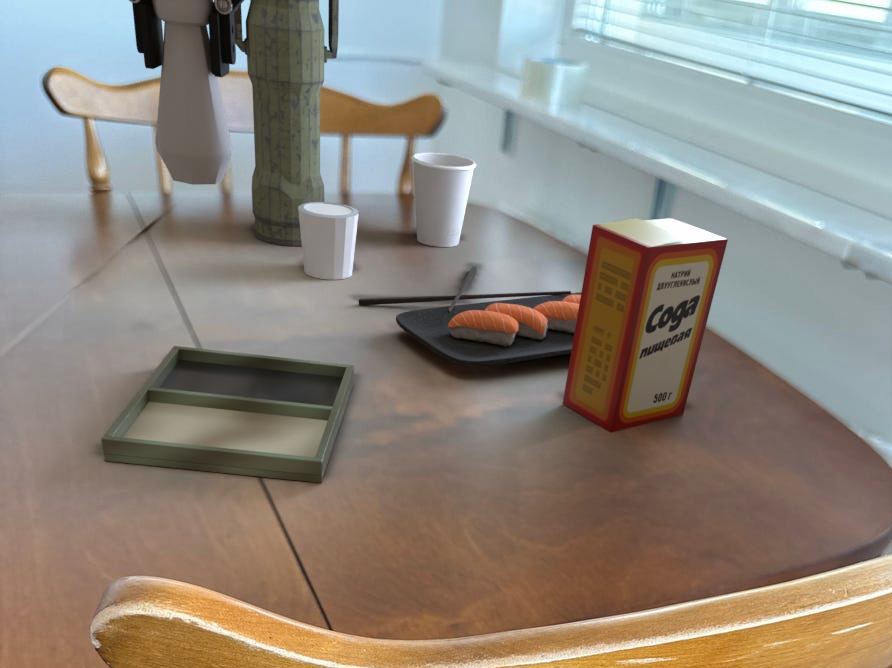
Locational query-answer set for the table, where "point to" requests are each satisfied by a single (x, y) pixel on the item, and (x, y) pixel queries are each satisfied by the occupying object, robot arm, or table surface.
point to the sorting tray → (234, 415)
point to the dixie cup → (441, 196)
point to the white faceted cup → (328, 239)
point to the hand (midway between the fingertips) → (188, 67)
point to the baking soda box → (641, 320)
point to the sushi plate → (492, 325)
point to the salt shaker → (190, 97)
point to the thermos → (286, 108)
